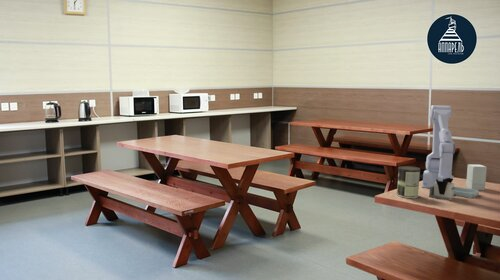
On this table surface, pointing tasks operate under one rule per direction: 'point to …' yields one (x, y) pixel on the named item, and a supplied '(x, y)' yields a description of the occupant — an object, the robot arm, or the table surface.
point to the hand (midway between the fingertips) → (443, 193)
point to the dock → (437, 196)
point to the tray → (466, 192)
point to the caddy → (448, 192)
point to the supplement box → (476, 177)
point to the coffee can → (408, 181)
